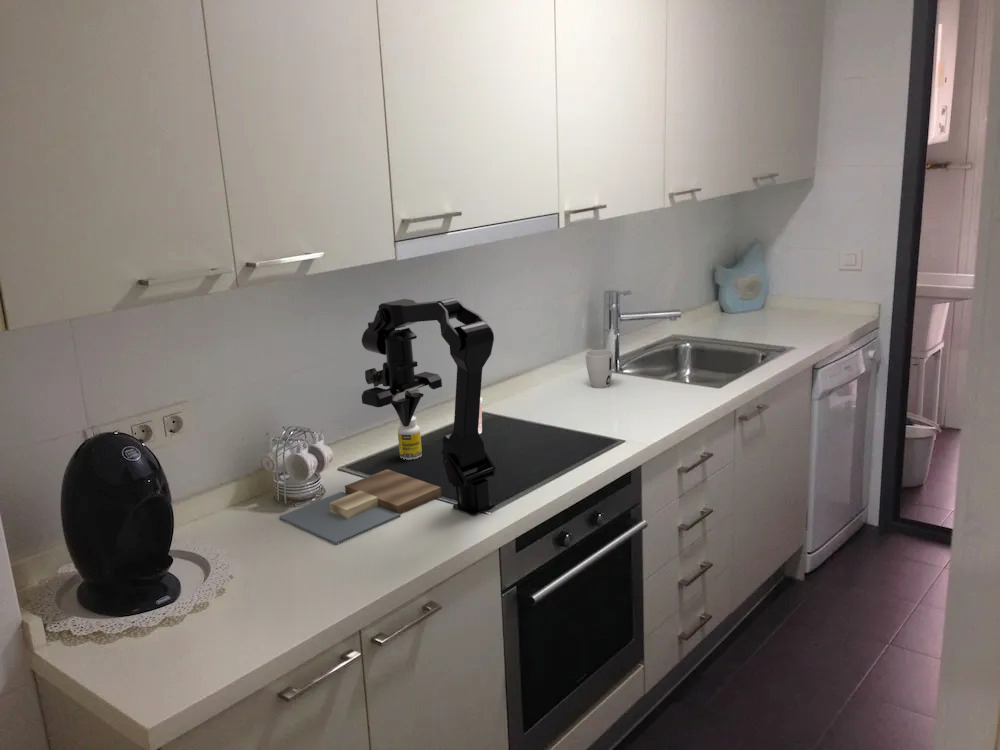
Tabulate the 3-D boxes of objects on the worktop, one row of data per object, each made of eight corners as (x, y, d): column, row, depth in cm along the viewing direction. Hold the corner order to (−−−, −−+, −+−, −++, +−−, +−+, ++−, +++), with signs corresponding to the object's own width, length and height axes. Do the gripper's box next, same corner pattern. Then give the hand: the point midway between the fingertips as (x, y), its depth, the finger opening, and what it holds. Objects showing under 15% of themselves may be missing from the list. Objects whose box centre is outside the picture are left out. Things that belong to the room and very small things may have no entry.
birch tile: (378, 505, 188) (377, 497, 188) (347, 519, 183) (346, 510, 182) (361, 499, 192) (360, 490, 192) (330, 511, 187) (329, 502, 186)
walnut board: (441, 495, 193) (440, 487, 192) (398, 514, 185) (397, 505, 184) (388, 477, 205) (387, 469, 205) (345, 494, 197) (344, 485, 196)
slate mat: (400, 516, 184) (400, 514, 184) (336, 544, 173) (336, 542, 173) (341, 493, 197) (341, 491, 197) (279, 518, 186) (278, 516, 186)
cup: (613, 389, 261) (612, 356, 258) (585, 389, 262) (584, 356, 260) (614, 381, 269) (614, 349, 266) (587, 381, 270) (586, 349, 267)
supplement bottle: (401, 461, 214) (397, 422, 212) (398, 454, 219) (395, 416, 217) (423, 458, 215) (420, 420, 213) (420, 451, 220) (417, 413, 218)
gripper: (407, 344, 206) (413, 408, 211) (342, 362, 194) (349, 431, 198) (441, 350, 199) (446, 417, 203) (375, 369, 186) (382, 440, 190)
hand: (406, 426), depth 199 cm, fingers closed
